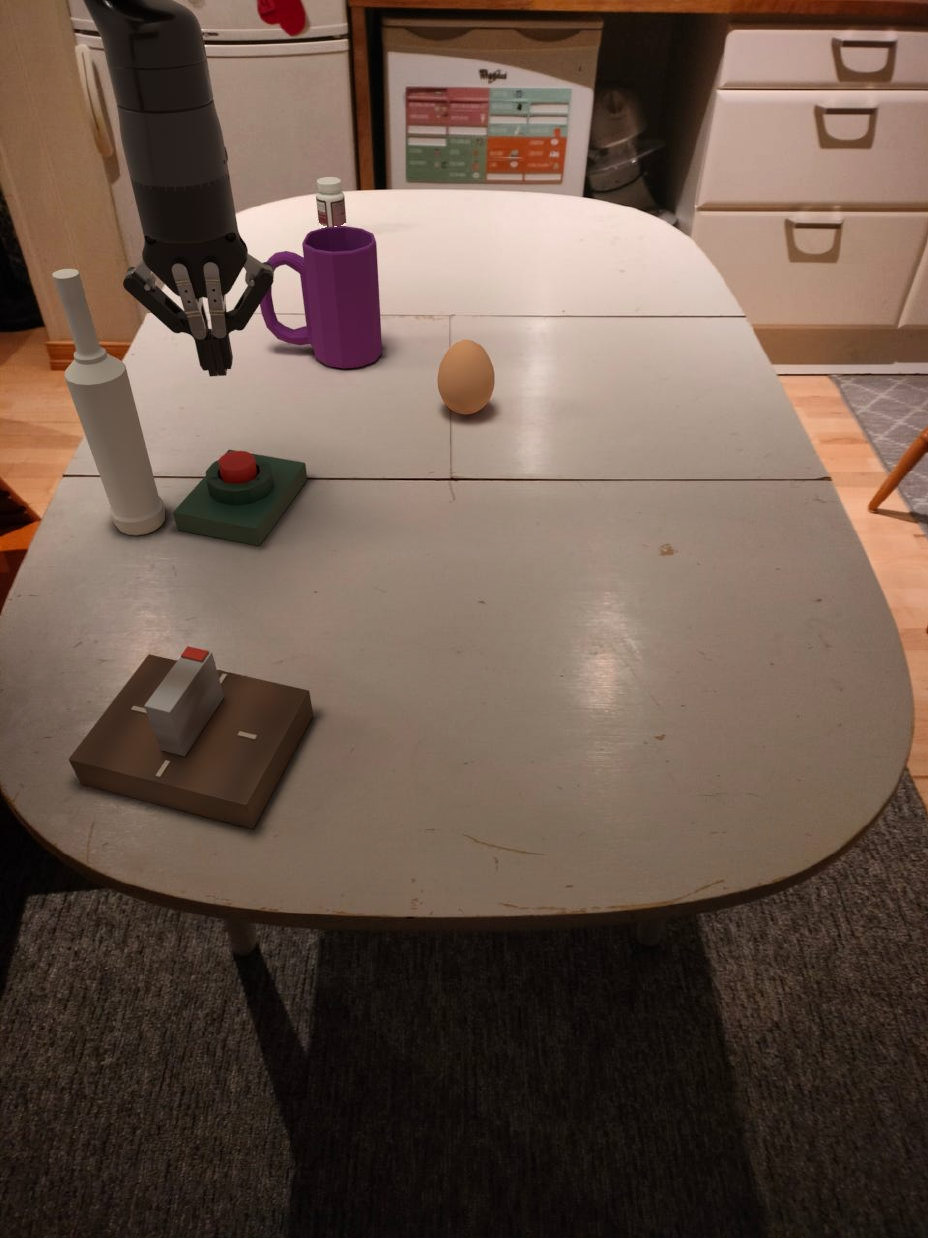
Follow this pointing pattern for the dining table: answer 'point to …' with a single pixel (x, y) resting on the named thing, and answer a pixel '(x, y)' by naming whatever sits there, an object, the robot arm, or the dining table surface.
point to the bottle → (109, 417)
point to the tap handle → (185, 701)
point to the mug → (334, 297)
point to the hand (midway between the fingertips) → (219, 371)
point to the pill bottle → (330, 202)
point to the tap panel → (198, 747)
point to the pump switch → (241, 501)
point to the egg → (466, 377)
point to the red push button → (237, 467)
